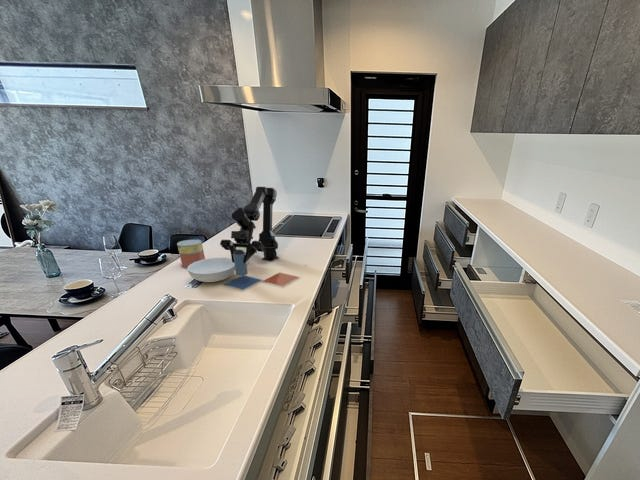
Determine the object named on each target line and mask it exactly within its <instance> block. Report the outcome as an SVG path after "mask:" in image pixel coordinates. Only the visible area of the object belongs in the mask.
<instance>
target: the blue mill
mask: <svg viewBox="0 0 640 480" xmlns="http://www.w3.org/2000/svg"><path fill="white" fill-rule="evenodd" d="M233 258H234V264H235V275H236V276H238V277H241V276H247V275H248V274H249V271H248V266H247V265H248V263H247V264H246V263H244V258H245V252H243V250H236V251H234V253H233Z"/></svg>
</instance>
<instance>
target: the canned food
mask: <svg viewBox="0 0 640 480" xmlns="http://www.w3.org/2000/svg"><path fill="white" fill-rule="evenodd" d="M176 246H177V250H178V253H179V259H180V262H181V267H182V268H185V269H187V268H188V266H189V265H190V264H192V263H194V262H196V261H200V260H203V259H206V256H205V252H204V247H203V240H201V239H196V238H195V239H193V238H192V239H184V240H181V241H180V240H179V241H178V242H177V243H176Z"/></svg>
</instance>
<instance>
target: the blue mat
mask: <svg viewBox="0 0 640 480" xmlns="http://www.w3.org/2000/svg"><path fill="white" fill-rule="evenodd" d="M261 281H262V279H260V278H257V277H256V278H255V277H252V276H247V275H244V276H238V277H237V278H234V279H231V280H230V281H228V282H225V283H223V284H222V285H223V286H228V287H231V288H235V289H239V290H246V289H247V288H249V287H251V286H253V285H255V284H258V283H260V282H261Z"/></svg>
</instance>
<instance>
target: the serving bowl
mask: <svg viewBox="0 0 640 480" xmlns="http://www.w3.org/2000/svg"><path fill="white" fill-rule="evenodd" d="M186 269H187V272H188V275H190V277H191V278H193V280H196V281H198V282H203V283H214V282H221V281H224V280H226V279H228V278H230V277H231V276H233V275H234V273H236V270H235V264H234V263H233V262H232V258H230V257H209V258H205V259H203V260H200V261H196V262H194V263H192V264H190V265H189V266H188V268H186Z"/></svg>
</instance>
